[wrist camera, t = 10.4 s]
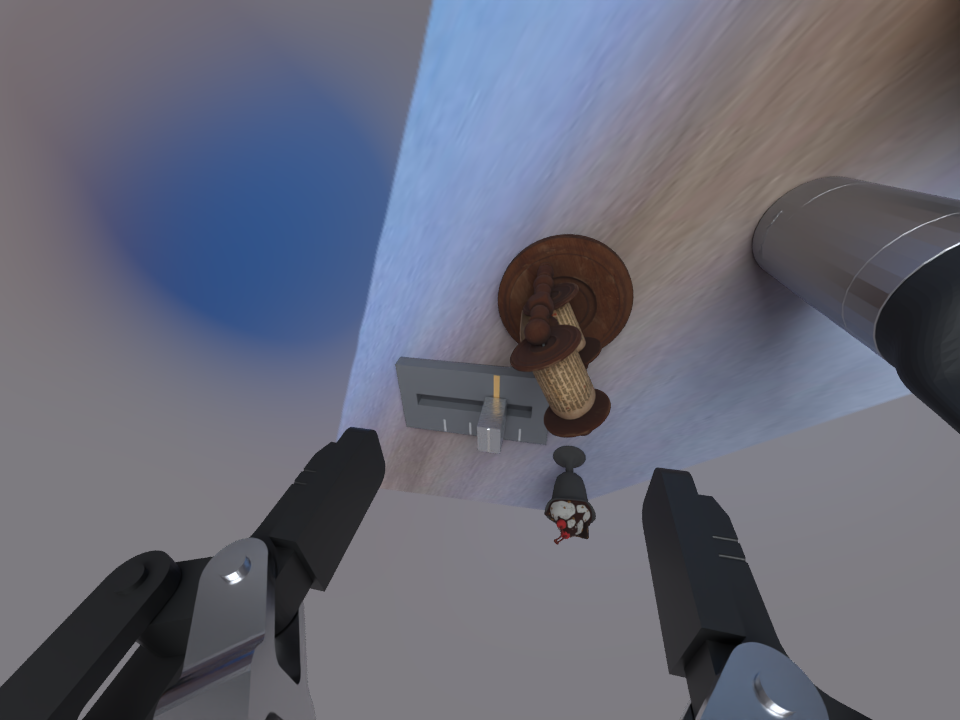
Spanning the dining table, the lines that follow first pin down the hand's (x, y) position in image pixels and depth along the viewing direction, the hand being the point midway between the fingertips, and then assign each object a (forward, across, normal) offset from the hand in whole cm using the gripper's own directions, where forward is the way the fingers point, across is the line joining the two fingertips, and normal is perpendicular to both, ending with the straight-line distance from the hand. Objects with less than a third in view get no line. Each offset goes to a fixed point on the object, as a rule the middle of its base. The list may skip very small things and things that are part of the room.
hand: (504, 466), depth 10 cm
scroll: (+34, -2, +9) cm, 35 cm away
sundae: (+34, -5, +36) cm, 49 cm away
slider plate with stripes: (+33, +10, +25) cm, 43 cm away
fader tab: (+33, +6, +26) cm, 42 cm away
